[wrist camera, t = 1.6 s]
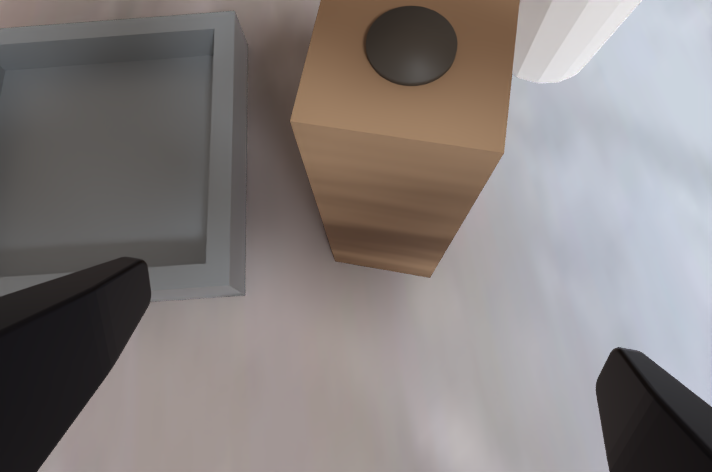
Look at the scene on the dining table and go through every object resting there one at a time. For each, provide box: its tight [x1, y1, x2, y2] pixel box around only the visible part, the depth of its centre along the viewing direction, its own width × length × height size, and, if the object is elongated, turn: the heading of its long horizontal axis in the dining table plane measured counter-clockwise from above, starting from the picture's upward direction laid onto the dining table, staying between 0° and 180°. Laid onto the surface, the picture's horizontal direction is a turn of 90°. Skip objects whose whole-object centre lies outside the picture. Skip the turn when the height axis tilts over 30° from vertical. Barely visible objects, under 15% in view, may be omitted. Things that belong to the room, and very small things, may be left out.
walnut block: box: [290, 0, 520, 278], centre depth 16 cm, size 4×4×13 cm
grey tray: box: [0, 11, 248, 302], centre depth 22 cm, size 14×14×2 cm
